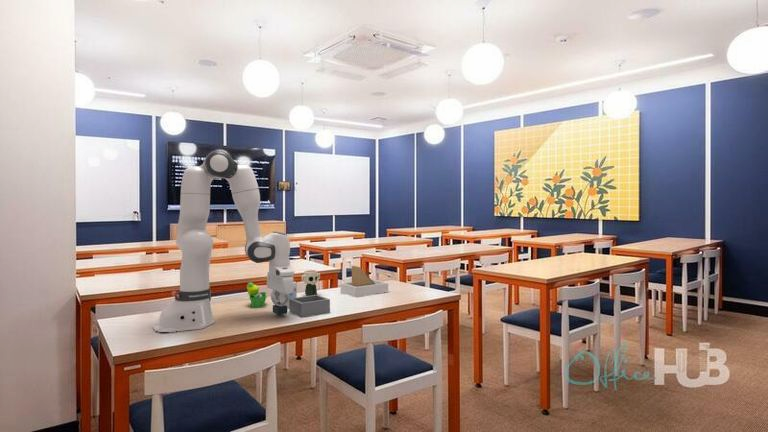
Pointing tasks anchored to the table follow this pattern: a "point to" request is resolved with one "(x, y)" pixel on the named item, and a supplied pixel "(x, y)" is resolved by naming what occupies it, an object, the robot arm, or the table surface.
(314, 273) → the big eyed figurine
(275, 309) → the watch
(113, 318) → the table surface
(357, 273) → the sandwich container
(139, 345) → the table surface
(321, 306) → the crate
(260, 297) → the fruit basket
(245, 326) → the table surface
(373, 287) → the light grey tray
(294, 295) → the light bulb box
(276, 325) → the table surface
